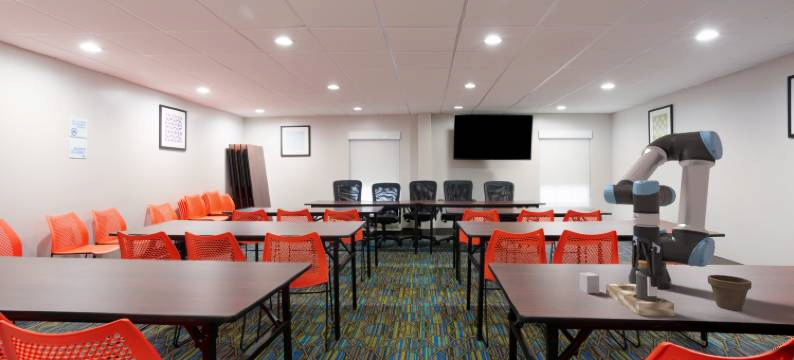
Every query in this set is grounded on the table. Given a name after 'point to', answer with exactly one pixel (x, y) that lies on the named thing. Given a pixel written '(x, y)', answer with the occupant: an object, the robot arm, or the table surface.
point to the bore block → (639, 301)
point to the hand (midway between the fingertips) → (646, 292)
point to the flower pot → (729, 291)
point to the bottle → (643, 282)
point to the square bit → (589, 282)
